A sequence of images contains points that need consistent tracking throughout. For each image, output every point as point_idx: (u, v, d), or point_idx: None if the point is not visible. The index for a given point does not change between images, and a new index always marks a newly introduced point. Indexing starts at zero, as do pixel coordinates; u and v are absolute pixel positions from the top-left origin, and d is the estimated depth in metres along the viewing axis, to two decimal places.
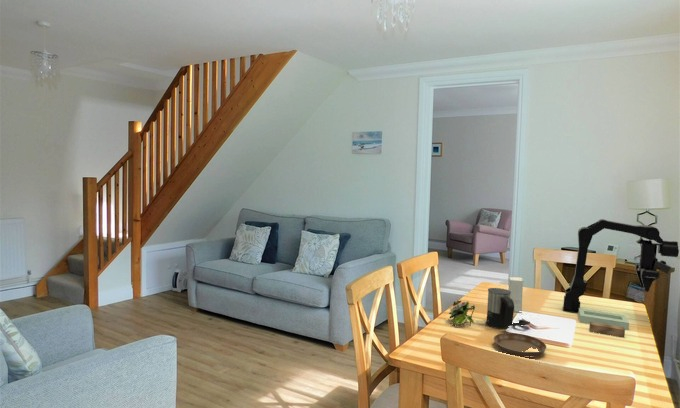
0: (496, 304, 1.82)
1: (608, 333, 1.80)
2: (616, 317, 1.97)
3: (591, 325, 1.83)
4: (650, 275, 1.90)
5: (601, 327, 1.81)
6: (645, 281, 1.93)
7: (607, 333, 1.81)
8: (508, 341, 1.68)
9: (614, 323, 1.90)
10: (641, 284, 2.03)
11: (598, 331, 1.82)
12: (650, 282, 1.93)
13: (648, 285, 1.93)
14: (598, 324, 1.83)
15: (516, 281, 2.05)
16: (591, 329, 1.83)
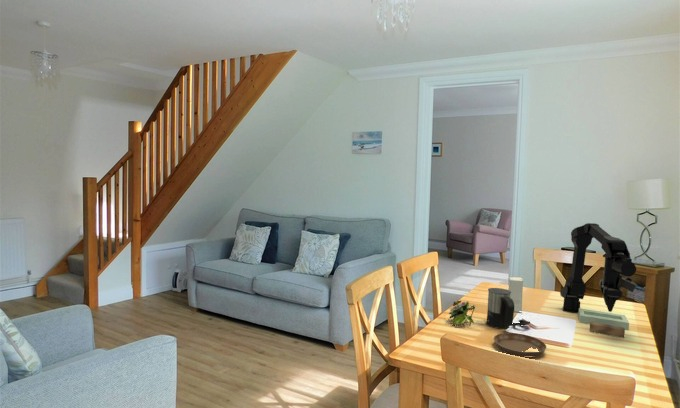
0: (496, 304, 1.82)
1: (608, 333, 1.80)
2: (616, 317, 1.97)
3: (591, 325, 1.83)
4: (613, 294, 1.73)
5: (601, 327, 1.82)
6: (608, 300, 1.76)
7: (607, 333, 1.81)
8: (508, 341, 1.68)
9: (614, 323, 1.90)
10: (605, 302, 1.86)
11: (598, 331, 1.82)
12: (613, 301, 1.75)
13: (611, 304, 1.76)
14: (598, 324, 1.83)
15: (516, 281, 2.05)
16: (591, 329, 1.83)
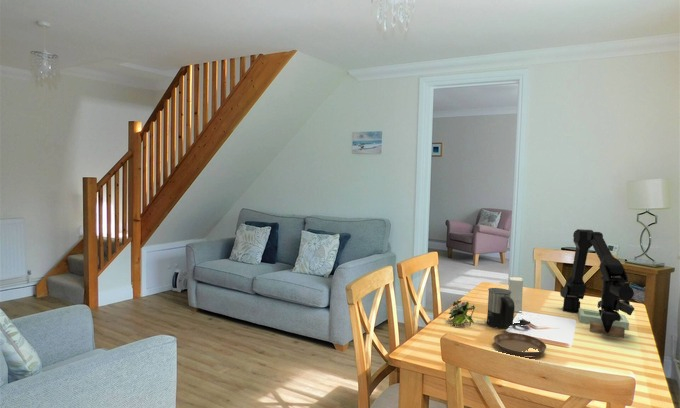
0: (497, 304, 1.82)
1: (608, 333, 1.80)
2: None
3: (591, 324, 1.83)
4: (610, 318, 1.73)
5: (601, 327, 1.82)
6: (605, 321, 1.79)
7: (607, 333, 1.81)
8: (508, 341, 1.68)
9: (614, 323, 1.90)
10: None
11: (597, 330, 1.82)
12: (610, 323, 1.78)
13: (608, 326, 1.79)
14: (598, 324, 1.83)
15: (516, 281, 2.04)
16: (591, 328, 1.83)
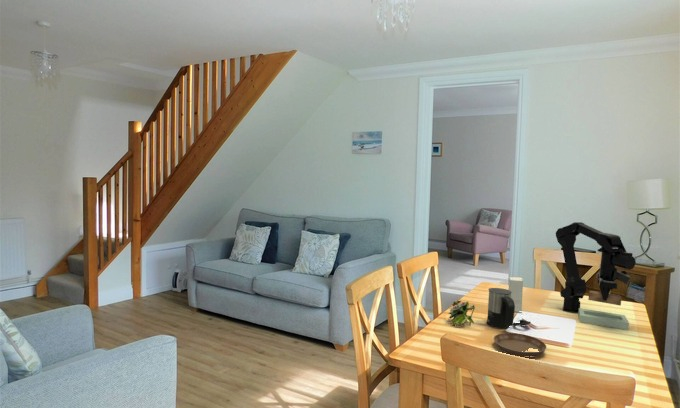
0: (497, 304, 1.82)
1: None
2: (616, 317, 1.97)
3: (590, 293, 1.95)
4: (607, 286, 1.85)
5: (599, 295, 1.93)
6: (603, 290, 1.91)
7: None
8: (508, 341, 1.68)
9: (614, 323, 1.90)
10: None
11: (596, 298, 1.94)
12: (608, 291, 1.90)
13: (606, 294, 1.91)
14: (597, 292, 1.95)
15: (516, 281, 2.04)
16: (589, 296, 1.95)
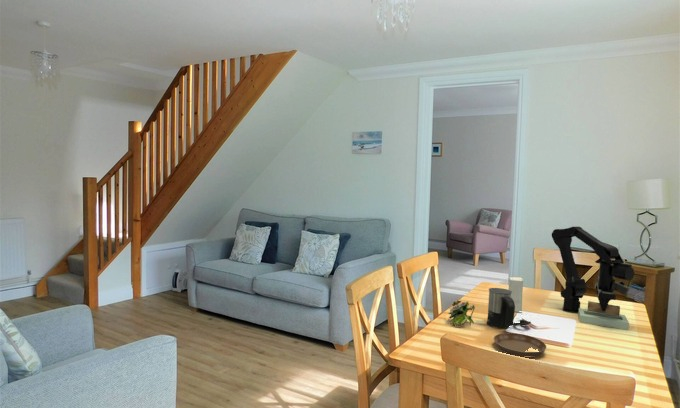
0: (497, 304, 1.82)
1: (604, 311, 1.95)
2: (616, 317, 1.97)
3: (589, 304, 1.98)
4: (606, 297, 1.87)
5: (598, 305, 1.96)
6: (602, 301, 1.93)
7: (603, 311, 1.95)
8: (508, 341, 1.68)
9: (614, 323, 1.90)
10: None
11: (595, 309, 1.96)
12: (606, 302, 1.93)
13: (604, 305, 1.93)
14: (595, 303, 1.98)
15: (516, 281, 2.05)
16: (588, 307, 1.98)
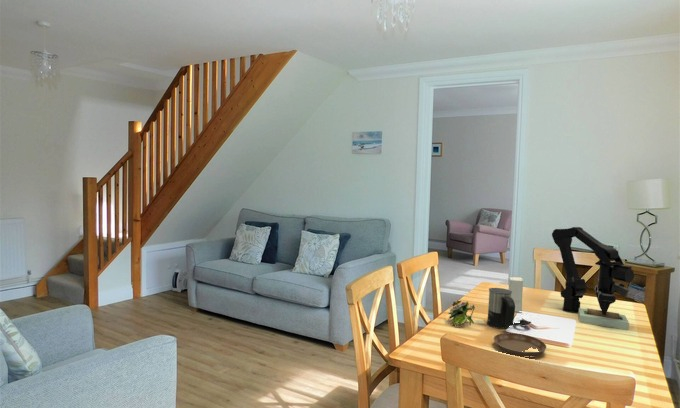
0: (497, 304, 1.82)
1: None
2: None
3: (588, 311, 1.98)
4: (606, 299, 1.87)
5: (597, 313, 1.96)
6: (602, 304, 1.91)
7: None
8: (508, 341, 1.68)
9: (614, 323, 1.90)
10: (600, 306, 2.01)
11: None
12: (607, 305, 1.90)
13: (605, 308, 1.91)
14: (595, 310, 1.98)
15: (516, 281, 2.04)
16: None
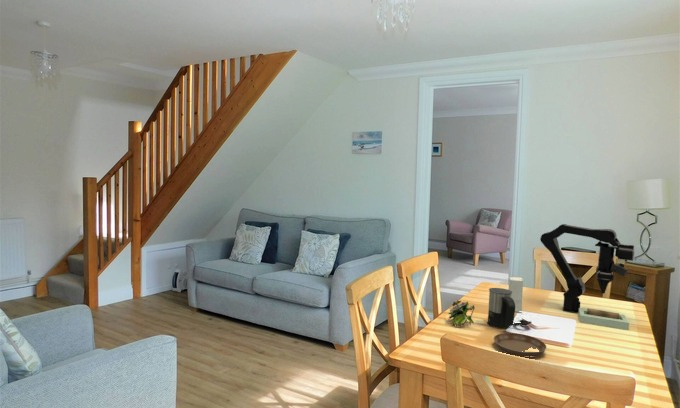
0: (497, 304, 1.82)
1: None
2: None
3: (588, 311, 1.98)
4: (604, 277, 1.94)
5: (597, 313, 1.96)
6: (601, 283, 1.98)
7: None
8: (508, 341, 1.68)
9: (614, 323, 1.90)
10: None
11: None
12: (606, 284, 1.97)
13: (604, 287, 1.98)
14: (595, 310, 1.98)
15: (516, 281, 2.05)
16: None
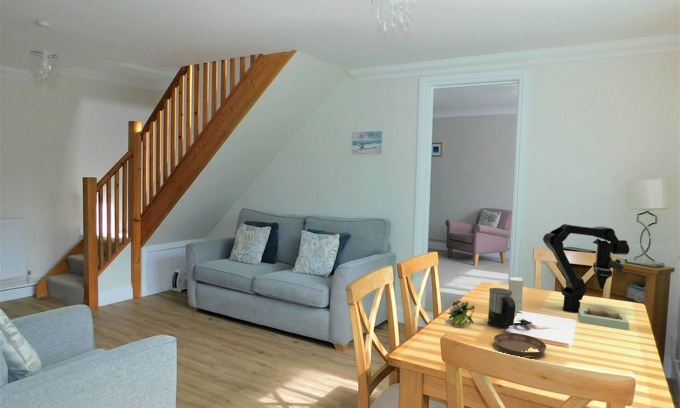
0: (497, 304, 1.82)
1: None
2: None
3: (588, 311, 1.98)
4: (603, 273, 2.02)
5: (597, 313, 1.96)
6: (600, 279, 2.06)
7: None
8: (508, 341, 1.68)
9: (614, 323, 1.90)
10: (598, 282, 2.15)
11: None
12: (604, 280, 2.05)
13: (602, 282, 2.06)
14: (595, 310, 1.98)
15: (516, 281, 2.05)
16: None
